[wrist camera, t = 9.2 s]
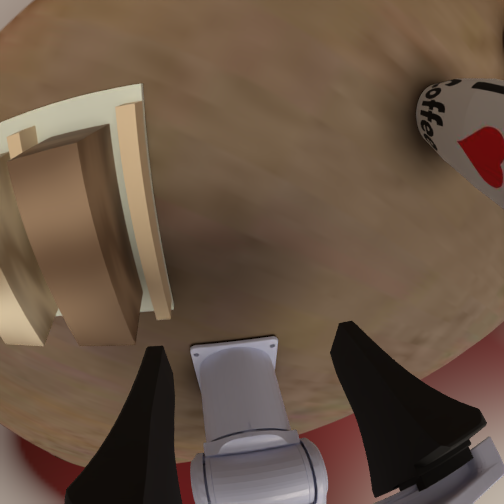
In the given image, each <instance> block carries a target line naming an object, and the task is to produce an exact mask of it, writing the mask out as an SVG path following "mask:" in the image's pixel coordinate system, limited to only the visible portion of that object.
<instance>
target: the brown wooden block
mask: <svg viewBox="0 0 504 504" xmlns="http://www.w3.org/2000/svg"><path fill="white" fill-rule="evenodd" d="M7 167H8V171H9V175H10V180H11V184H12V187H13V191H14V195H15V198H16V202H17V205H18V209H19V212H20V215H21V218H22V221H23V224H24V227H25V230H26V233H27V236H28V239H29V241H30V244H31V247H32V249H33V252H34V255H35V257H36V260H37V262H38V264H39V267H40V269H41V272H42V274H43V276H44V278H45V281H46V283H47V285H48V287H49V289H50V292H51V294H52V296H53V298H54V300H55V302H56V304H57V306H58V308H59V310H60V312H61V314H62V316H63V318H64V320H65V321H66V323H67V325H68V327H69V329H70V331H71V332H72V334H73V336H74V338H75V339H76V341H77V343H78V344H79V346H116V345H135V344H136V336H137V329H138V321H139V315H140V308H141V302H142V295H143V290H142V286H141V283H140V279H139V275H138V272H137V268H136V264H135V260H134V256H133V252H132V248H131V244H130V240H129V236H128V231H127V227H126V222H125V217H124V212H123V208H122V202H121V197H120V192H119V186H118V181H117V175H116V168H115V162H114V155H113V148H112V140H111V132H110V124H104V125H99V126H95V127H90V128H85V129H81V130H77V131H72V132H68V133H64V134H60V135H57V136H53V137H50V138H48V139H46V140H44V141H42V142H40V143H38V144H37V145H35V146H33V147H31V148H29V149H28V150H26V151H24V152H22V153H21V154H19V155H17V156H16V157H14V158H12V159H11V160H9V161H7Z"/></svg>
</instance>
